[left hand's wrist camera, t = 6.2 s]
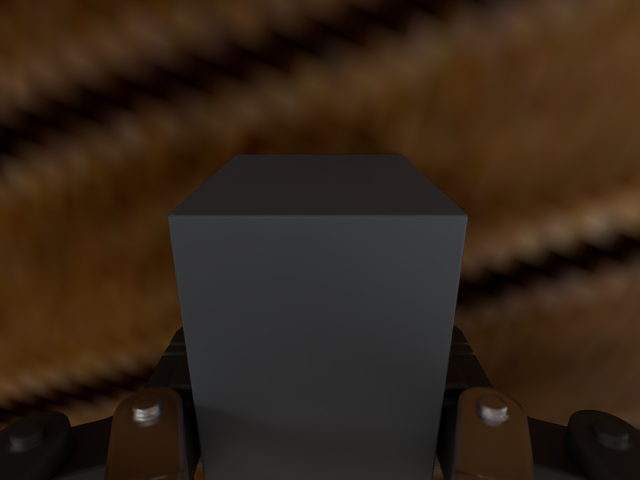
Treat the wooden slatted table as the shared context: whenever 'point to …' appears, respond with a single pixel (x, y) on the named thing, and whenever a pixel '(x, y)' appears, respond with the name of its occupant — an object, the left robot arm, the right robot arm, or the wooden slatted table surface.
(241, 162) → the bar
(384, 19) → the wooden slatted table surface
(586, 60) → the wooden slatted table surface
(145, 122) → the wooden slatted table surface
